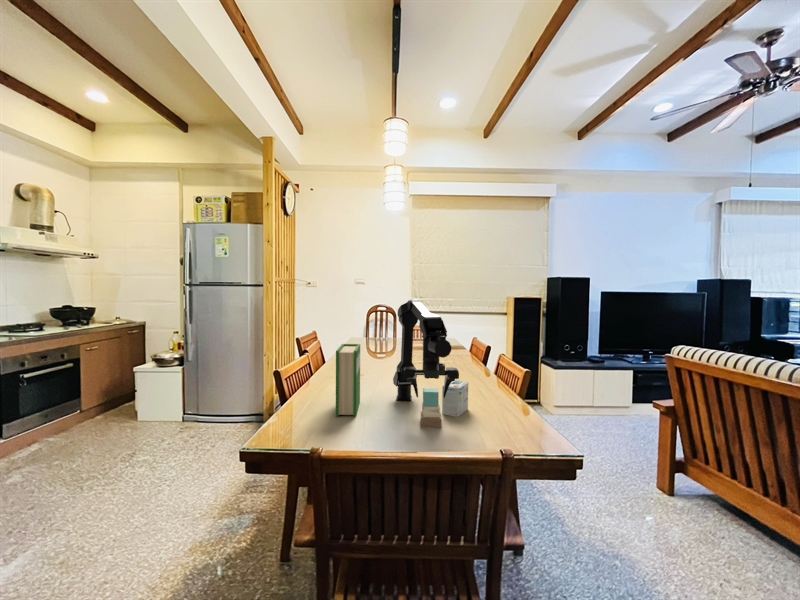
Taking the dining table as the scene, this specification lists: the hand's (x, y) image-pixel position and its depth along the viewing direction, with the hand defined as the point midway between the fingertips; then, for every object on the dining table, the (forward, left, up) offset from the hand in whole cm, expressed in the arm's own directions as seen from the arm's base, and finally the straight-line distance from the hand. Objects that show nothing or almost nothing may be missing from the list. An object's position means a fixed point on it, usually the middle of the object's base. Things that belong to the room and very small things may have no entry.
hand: (430, 397), depth 124 cm
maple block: (0, 0, -6) cm, 6 cm away
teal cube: (0, 0, -2) cm, 2 cm away
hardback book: (-13, -31, -9) cm, 35 cm away
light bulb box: (-13, +10, -9) cm, 19 cm away
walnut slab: (0, 0, -9) cm, 9 cm away
